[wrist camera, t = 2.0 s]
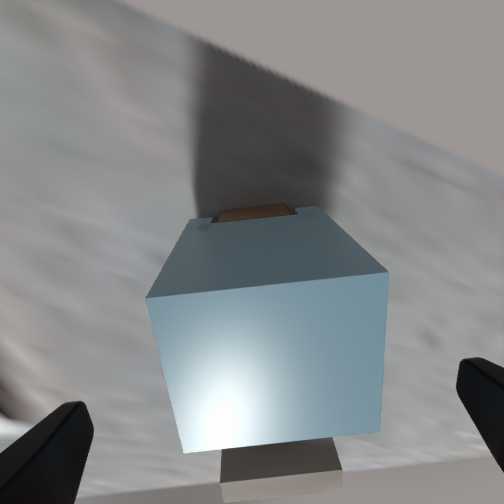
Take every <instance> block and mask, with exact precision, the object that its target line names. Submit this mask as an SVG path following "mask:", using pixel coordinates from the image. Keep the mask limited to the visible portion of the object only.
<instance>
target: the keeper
mask: <svg viewBox="0 0 504 504" xmlns="http://www.w3.org/2000/svg"><path fill="white" fill-rule="evenodd" d="M294 210H295V215H286V216H277V217H268V218H258V219H249V220H240V221H230V222H221V223H213V217H207V218H198V219H190V220H189V222H188V224H187V225H186V227H185V229H184V231H183V232H182V234H181V236H180V238H179V240H178V241H177V243H176V245H175V247H174V248H173V250H172V252H171V254H170V256H169V257H168V259H167V261H166V263H165V264H164V266H163V268H162V270H161V272H160V273H159V275H158V277H157V279H156V280H155V282H154V284H153V286H152V288H151V289H150V291H149V293H148V295H147V296H146V298H145V299H146V303H147V307H148V311H149V315H150V319H151V323H152V327H153V331H154V335H155V339H156V343H157V347H158V351H159V355H160V359H161V363H162V367H163V371H164V375H165V379H166V384H167V388H168V392H169V396H170V400H171V404H172V408H173V412H174V416H175V420H176V424H177V428H178V432H179V436H180V440H181V444H182V448H183V452H184V453H190V452H199V451H208V450H218V449H227V448H236V447H245V446H254V445H263V444H273V443H282V442H291V441H300V440H309V439H319V438H328V437H337V436H346V435H355V434H364V433H374V432H380V418H381V401H382V384H383V366H384V349H385V332H386V315H387V298H388V281H389V272H388V271H387V270H386V269H385V268H384V267H383V266H382V265H381V264H380V263H379V262H378V261H376V260H375V259H374V258H373V257H372V256H371V255H370V254H369V253H368V252H367V251H366V250H365V249H363V248H362V247H361V246H360V245H359V244H358V243H357V242H356V241H355V240H354V239H353V238H352V237H350V236H349V235H348V234H347V233H346V232H345V231H344V230H343V229H342V228H341V227H340V226H339V225H337V224H336V223H335V222H334V221H333V220H332V219H331V218H330V217H329V216H328V215H327V214H325V213H324V212H323V211H322V210H321V209H320V208H319V207H318V206H310V207H301V208H294Z"/></svg>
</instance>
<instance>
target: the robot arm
mask: <svg viewBox="0 0 504 504" xmlns="http://www.w3.org/2000/svg"><path fill="white" fill-rule="evenodd" d="M456 390H457V393H458V396H459V398H460V400H461V401H462V403H463V405H464V407H465V408H466V410H467V412H468V413H469V415H470V417H471V419H472V420H473V422H474V424H475V426H476V427H477V429H478V431H479V433H480V434H481V436H482V438H483V440H484V441H485V443H486V445H487V447H488V448H489V450H490V452H491V453H492V455H493V457H494V458H495V460H496V462H497V463H498V465H499V466H500V467H501V469H502V471H503V472H504V368H503V367H501V366H499V365H497V364H494V363H492V362H490V361H488V360H486V359H483V358H480V357H475V358H466V359H462V360H461V362H460V364H459V370H458V376H457V382H456ZM93 434H94V427H93V423H92V421H91V418H90V415H89V412H88V410H87V407H86V405H85V403H84V402H83V401H74V402H67V403H64V404H62V405H61V406H59V407H58V408H57V409H56V410H54V411H53V412H52V413H51V414H49V415H48V416H47V417H46V418H44V419H43V420H42V421H40V422H39V423H38V424H37V425H35V426H34V427H33V428H32V429H30V430H29V431H28V432H27V433H25V434H24V435H23V436H22V437H20V438H19V439H18V440H16V441H15V442H14V443H13V444H11V445H10V446H9V447H8V448H6V449H5V450H4V451H3V452H1V453H0V504H74V502H75V499H76V496H77V492H78V489H79V485H80V482H81V478H82V475H83V471H84V468H85V464H86V460H87V457H88V453H89V450H90V446H91V443H92V439H93Z"/></svg>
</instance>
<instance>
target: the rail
mask: <svg viewBox="0 0 504 504" xmlns="http://www.w3.org/2000/svg"><path fill="white" fill-rule="evenodd" d="M286 215H291V213H290V212H289V210H288V209H287V207H286V206H285V204H281V205H272V206H262V207H253V208H243V209H234V210H225V211H221V212H220V216H219V220H218V223H221V222H230V221H240V220H249V219H258V218H268V217H277V216H286ZM220 485H221V490H222V495H223V500H224V503H230V502H239V501H248V500H257V499H266V498H275V497H285V496H293V495H302V494H312V493H321V492H330V491H339V490H342V467H341V464H340V461H339V458H338V454H337V451H336V448H335V445H334V441H333V438H332V437H328V438H319V439H309V440H300V441H291V442H282V443H273V444H263V445H254V446H245V447H236V448H227V449H222V456H221V475H220Z"/></svg>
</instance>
